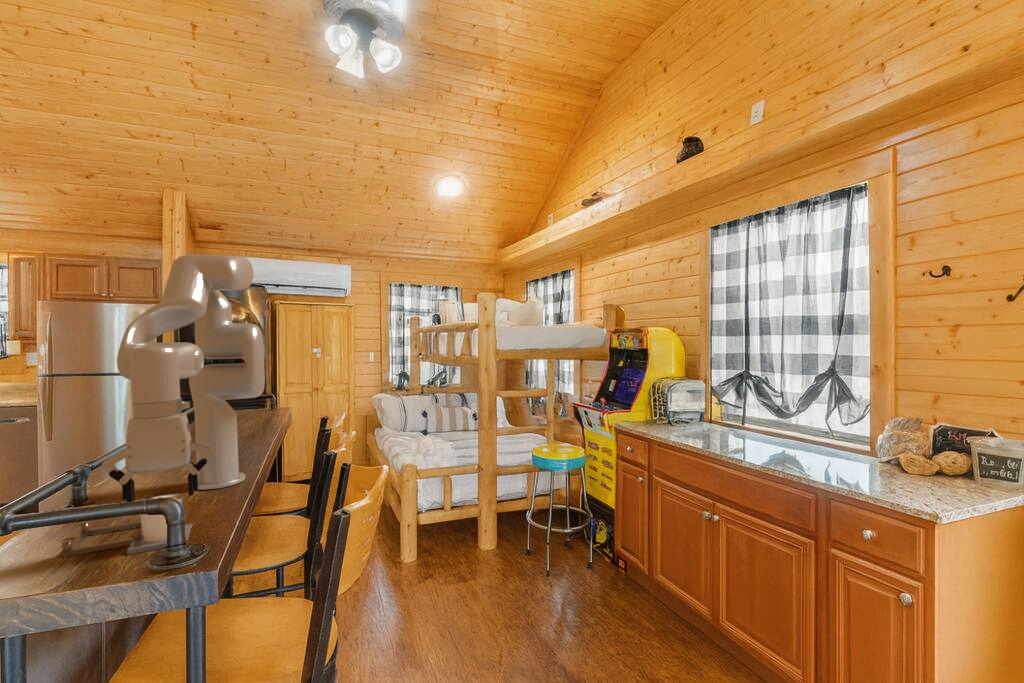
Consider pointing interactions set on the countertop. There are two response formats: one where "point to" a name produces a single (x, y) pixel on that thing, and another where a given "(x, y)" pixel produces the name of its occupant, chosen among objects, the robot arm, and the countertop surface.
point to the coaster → (152, 543)
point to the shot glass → (156, 524)
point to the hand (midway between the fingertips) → (162, 498)
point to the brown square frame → (74, 548)
